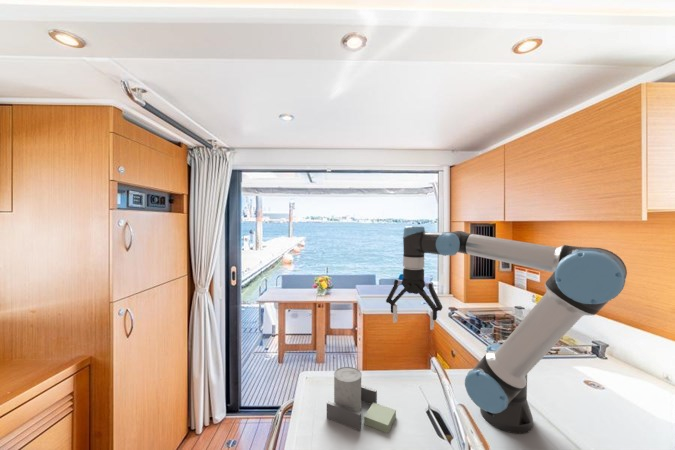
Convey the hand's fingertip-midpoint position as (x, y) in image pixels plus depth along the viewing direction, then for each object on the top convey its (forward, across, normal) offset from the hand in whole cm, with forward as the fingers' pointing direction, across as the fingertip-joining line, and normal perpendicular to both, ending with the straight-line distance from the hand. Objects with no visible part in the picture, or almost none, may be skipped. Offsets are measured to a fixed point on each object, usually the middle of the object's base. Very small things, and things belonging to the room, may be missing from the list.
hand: (413, 325), depth 105 cm
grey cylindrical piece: (+27, +18, +18) cm, 37 cm away
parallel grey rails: (+27, +16, +18) cm, 36 cm away
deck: (+27, +6, +18) cm, 33 cm away
